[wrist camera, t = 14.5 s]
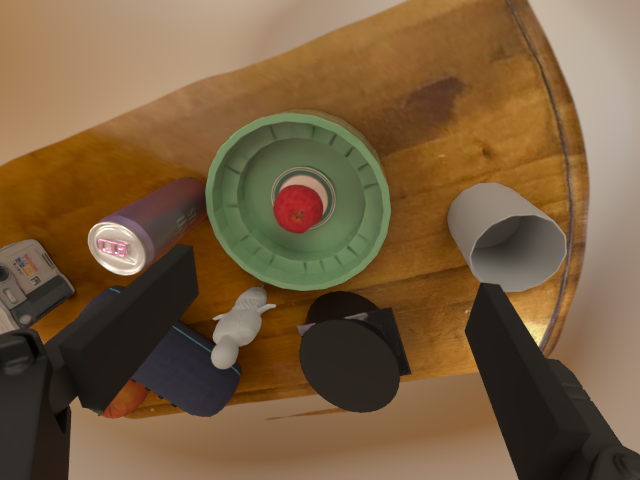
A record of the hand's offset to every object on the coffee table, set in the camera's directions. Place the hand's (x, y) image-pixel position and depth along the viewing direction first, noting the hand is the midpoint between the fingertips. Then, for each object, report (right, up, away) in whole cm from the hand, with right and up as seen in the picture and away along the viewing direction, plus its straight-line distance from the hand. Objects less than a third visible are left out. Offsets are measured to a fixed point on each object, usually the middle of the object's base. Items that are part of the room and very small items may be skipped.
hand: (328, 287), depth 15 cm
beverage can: (-17, +8, +29) cm, 34 cm away
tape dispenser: (+5, -13, +36) cm, 38 cm away
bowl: (-2, +8, +26) cm, 28 cm away
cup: (+19, +5, +25) cm, 32 cm away
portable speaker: (-24, -13, +40) cm, 48 cm away
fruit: (-35, -21, +46) cm, 61 cm away
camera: (-44, -2, +38) cm, 58 cm away
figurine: (-9, -5, +34) cm, 35 cm away
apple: (-2, +8, +26) cm, 27 cm away
